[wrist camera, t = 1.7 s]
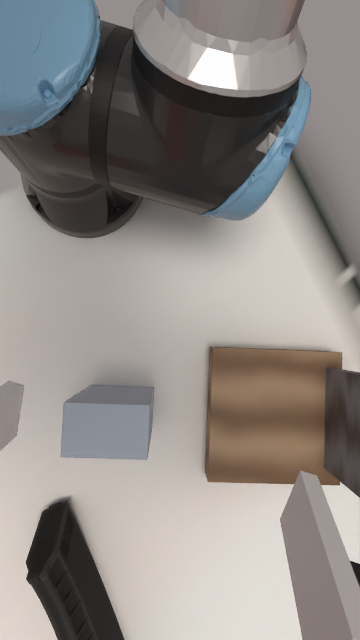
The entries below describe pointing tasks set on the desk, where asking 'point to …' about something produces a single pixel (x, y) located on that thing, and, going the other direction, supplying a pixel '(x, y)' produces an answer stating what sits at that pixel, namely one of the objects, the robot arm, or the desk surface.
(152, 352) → the desk surface
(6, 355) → the desk surface
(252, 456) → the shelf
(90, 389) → the slate gray rectangular prism
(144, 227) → the desk surface
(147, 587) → the desk surface
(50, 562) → the magazine
